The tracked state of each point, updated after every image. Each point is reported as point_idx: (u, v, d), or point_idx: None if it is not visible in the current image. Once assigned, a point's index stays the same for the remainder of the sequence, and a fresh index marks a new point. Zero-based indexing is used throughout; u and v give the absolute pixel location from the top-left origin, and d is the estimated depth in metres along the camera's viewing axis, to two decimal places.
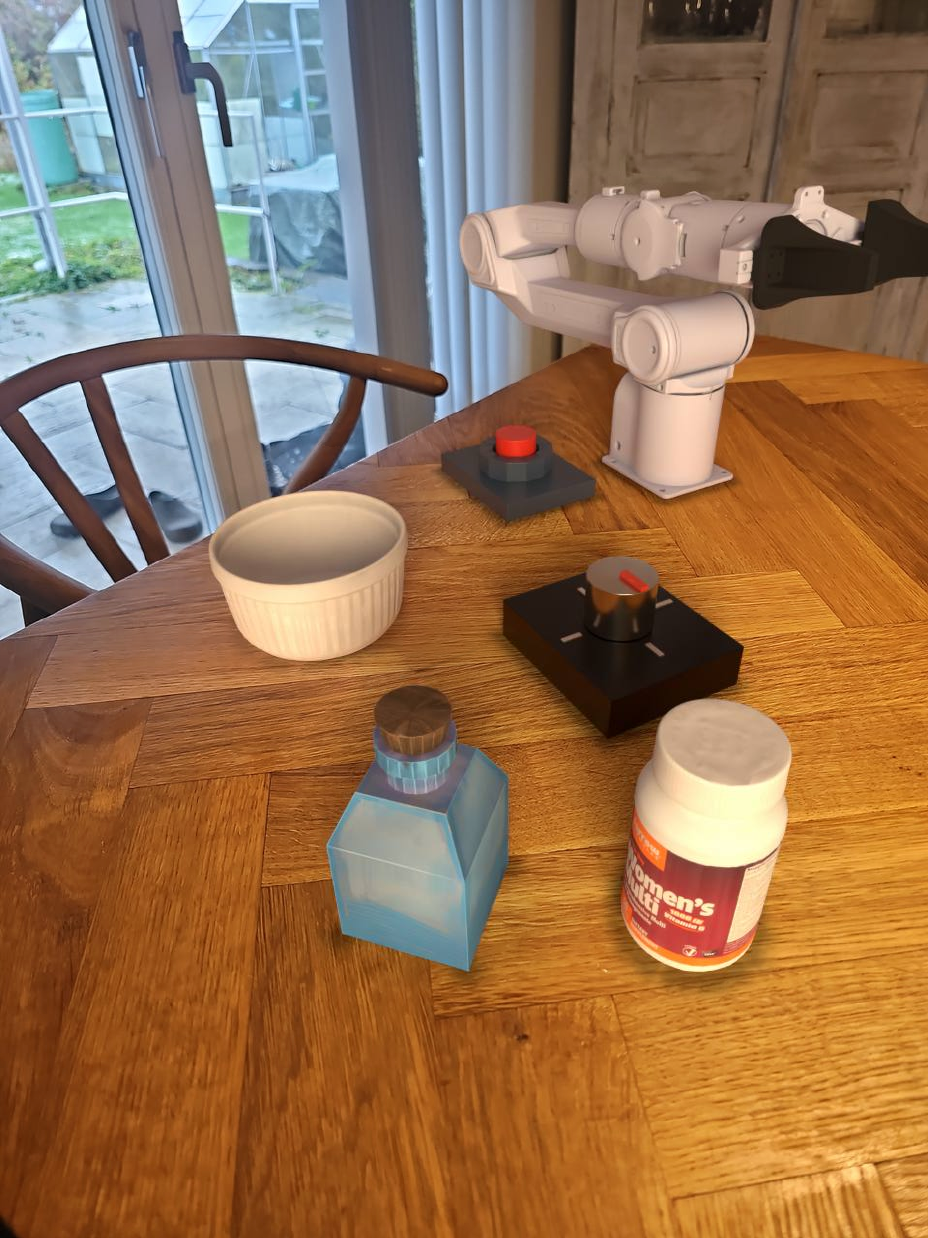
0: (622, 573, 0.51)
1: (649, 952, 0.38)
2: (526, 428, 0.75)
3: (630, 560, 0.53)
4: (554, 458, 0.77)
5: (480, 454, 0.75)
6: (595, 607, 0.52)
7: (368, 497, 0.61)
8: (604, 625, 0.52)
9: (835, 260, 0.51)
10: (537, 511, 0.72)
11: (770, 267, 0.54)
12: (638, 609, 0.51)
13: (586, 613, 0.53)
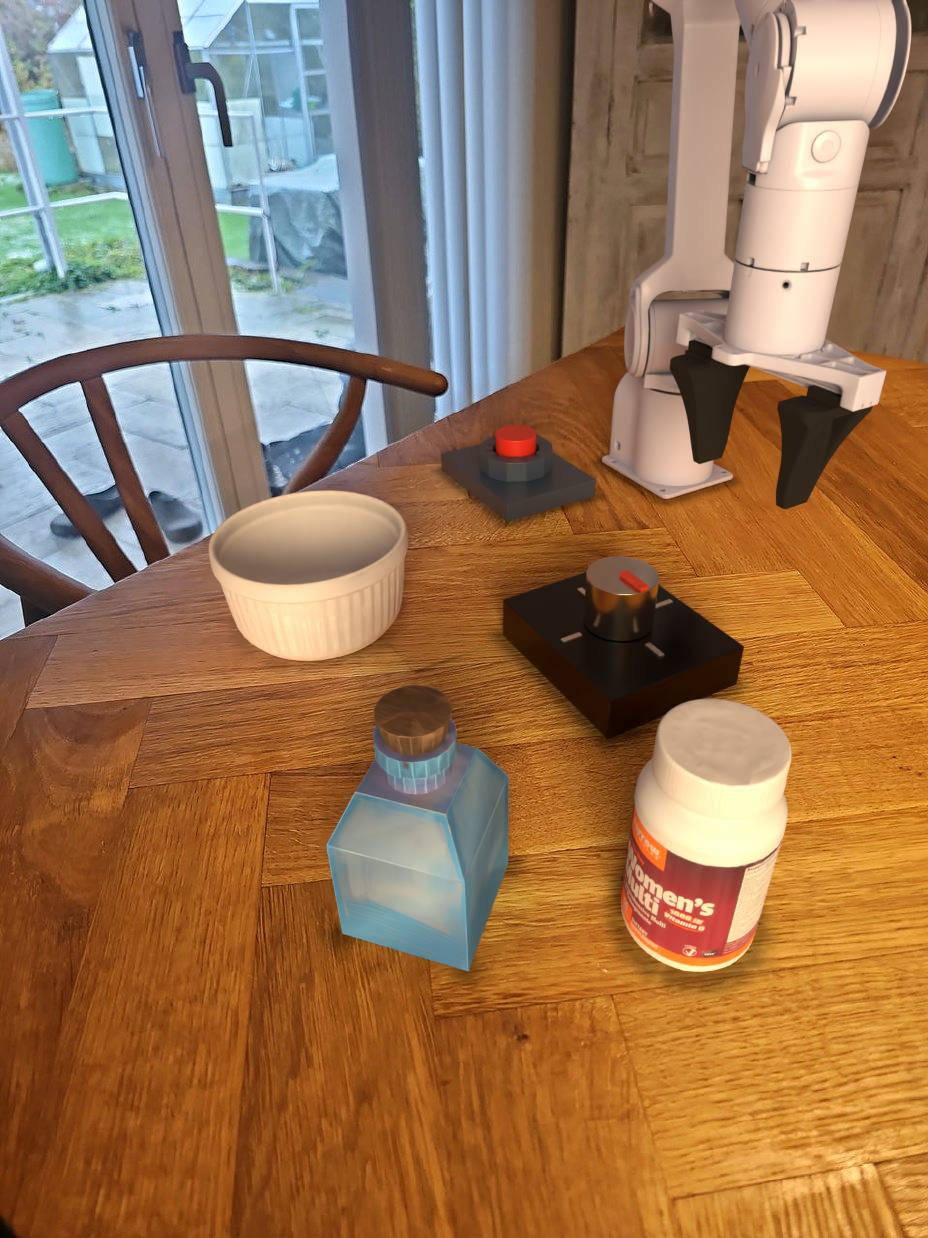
0: (622, 573, 0.51)
1: (649, 952, 0.38)
2: (526, 428, 0.75)
3: (630, 560, 0.53)
4: (554, 458, 0.77)
5: (480, 454, 0.75)
6: (595, 607, 0.52)
7: (368, 497, 0.61)
8: (604, 625, 0.52)
9: None
10: (537, 511, 0.72)
11: None
12: (638, 609, 0.51)
13: (586, 613, 0.53)
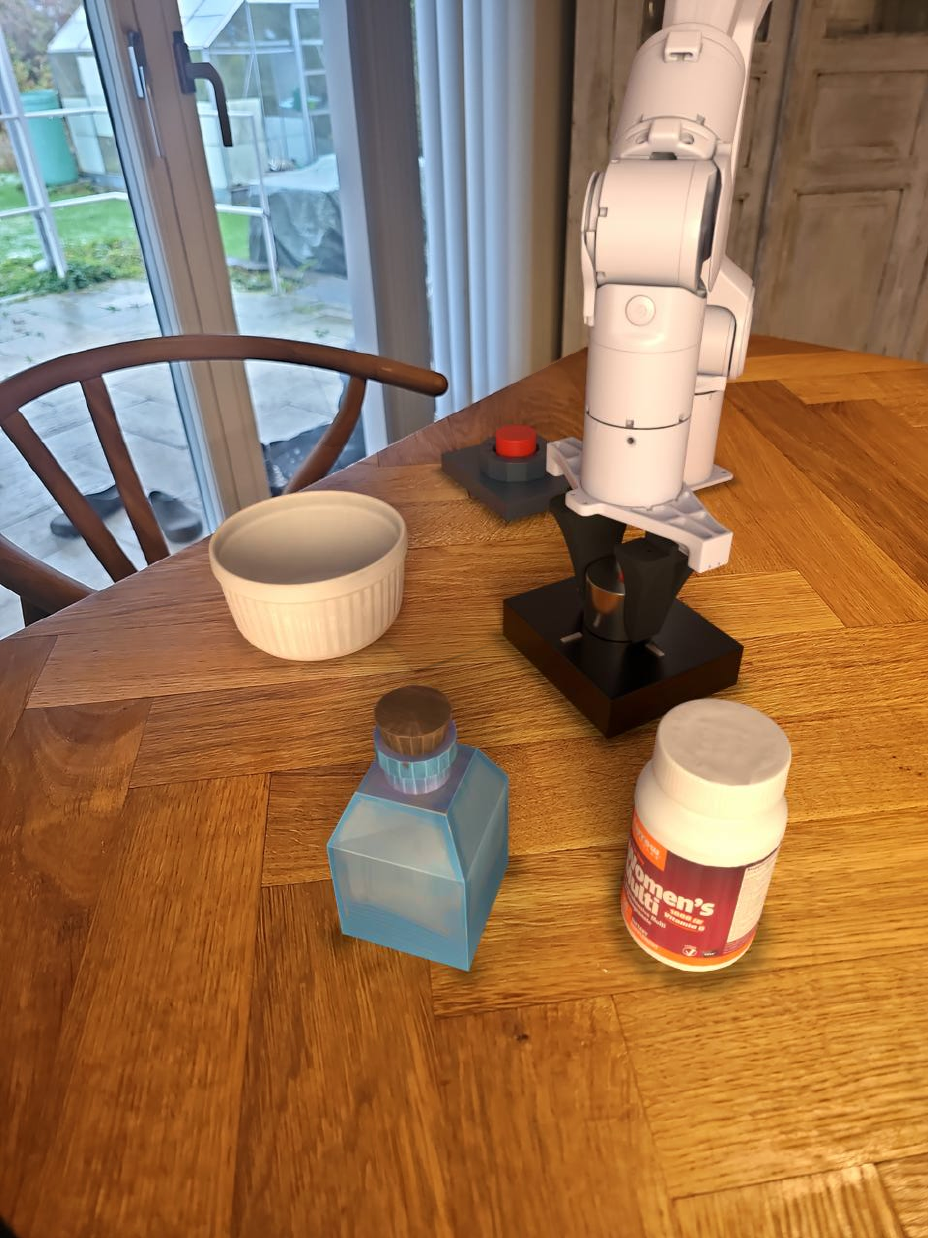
0: None
1: (649, 952, 0.38)
2: (526, 428, 0.75)
3: None
4: None
5: (480, 454, 0.75)
6: (595, 607, 0.52)
7: (368, 497, 0.61)
8: (604, 625, 0.52)
9: None
10: (537, 511, 0.72)
11: None
12: None
13: (586, 613, 0.53)
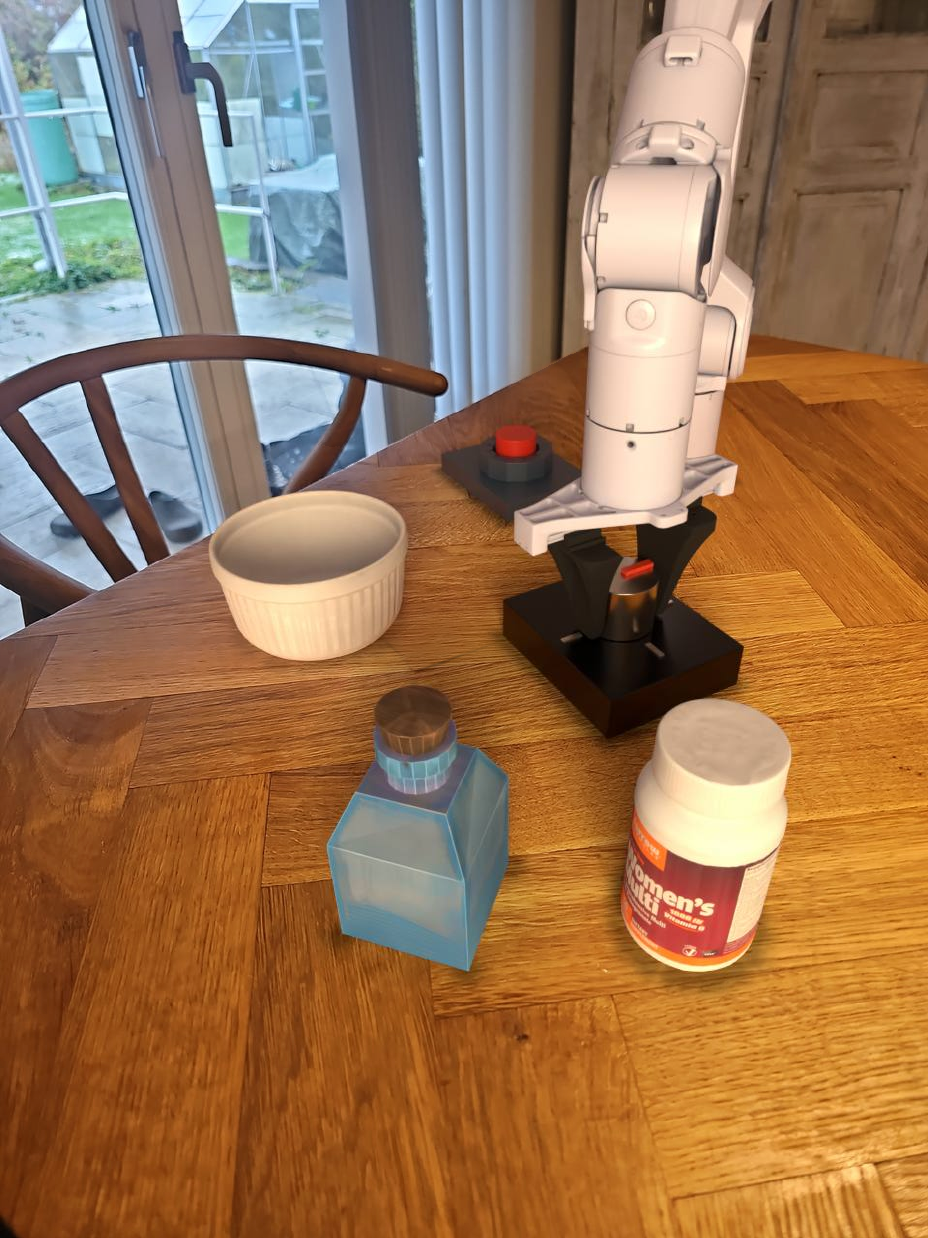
0: (628, 571, 0.52)
1: (649, 952, 0.38)
2: (526, 428, 0.75)
3: None
4: (554, 458, 0.77)
5: (480, 454, 0.75)
6: (647, 609, 0.51)
7: (368, 497, 0.61)
8: (651, 618, 0.52)
9: (587, 604, 0.51)
10: None
11: None
12: None
13: (633, 627, 0.52)
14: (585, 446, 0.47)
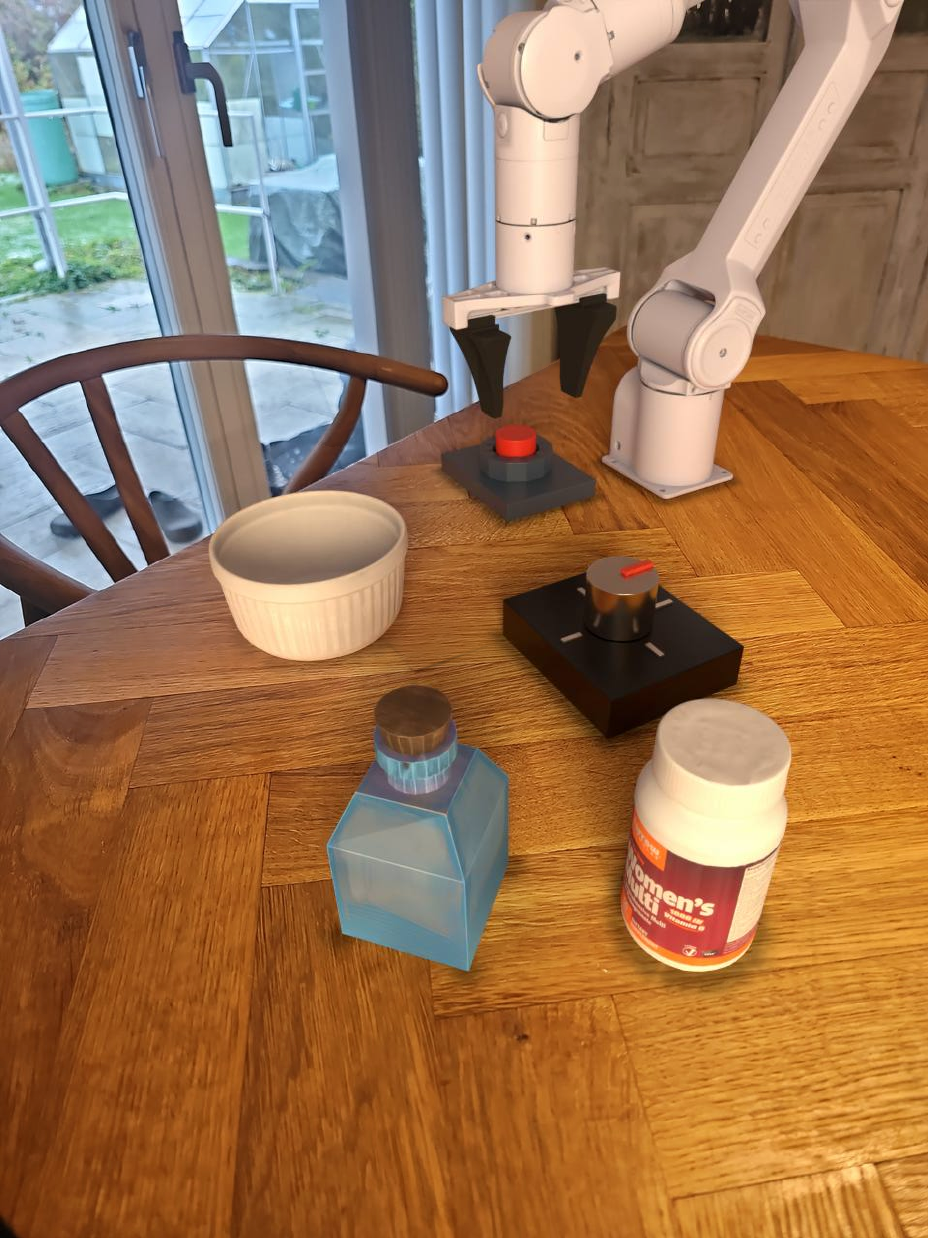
0: (628, 571, 0.52)
1: (649, 952, 0.38)
2: (526, 428, 0.75)
3: (593, 568, 0.53)
4: (554, 458, 0.77)
5: (480, 454, 0.75)
6: (648, 609, 0.51)
7: (368, 497, 0.61)
8: (652, 618, 0.52)
9: (488, 387, 0.64)
10: (537, 511, 0.72)
11: None
12: None
13: (633, 627, 0.52)
14: (496, 246, 0.61)
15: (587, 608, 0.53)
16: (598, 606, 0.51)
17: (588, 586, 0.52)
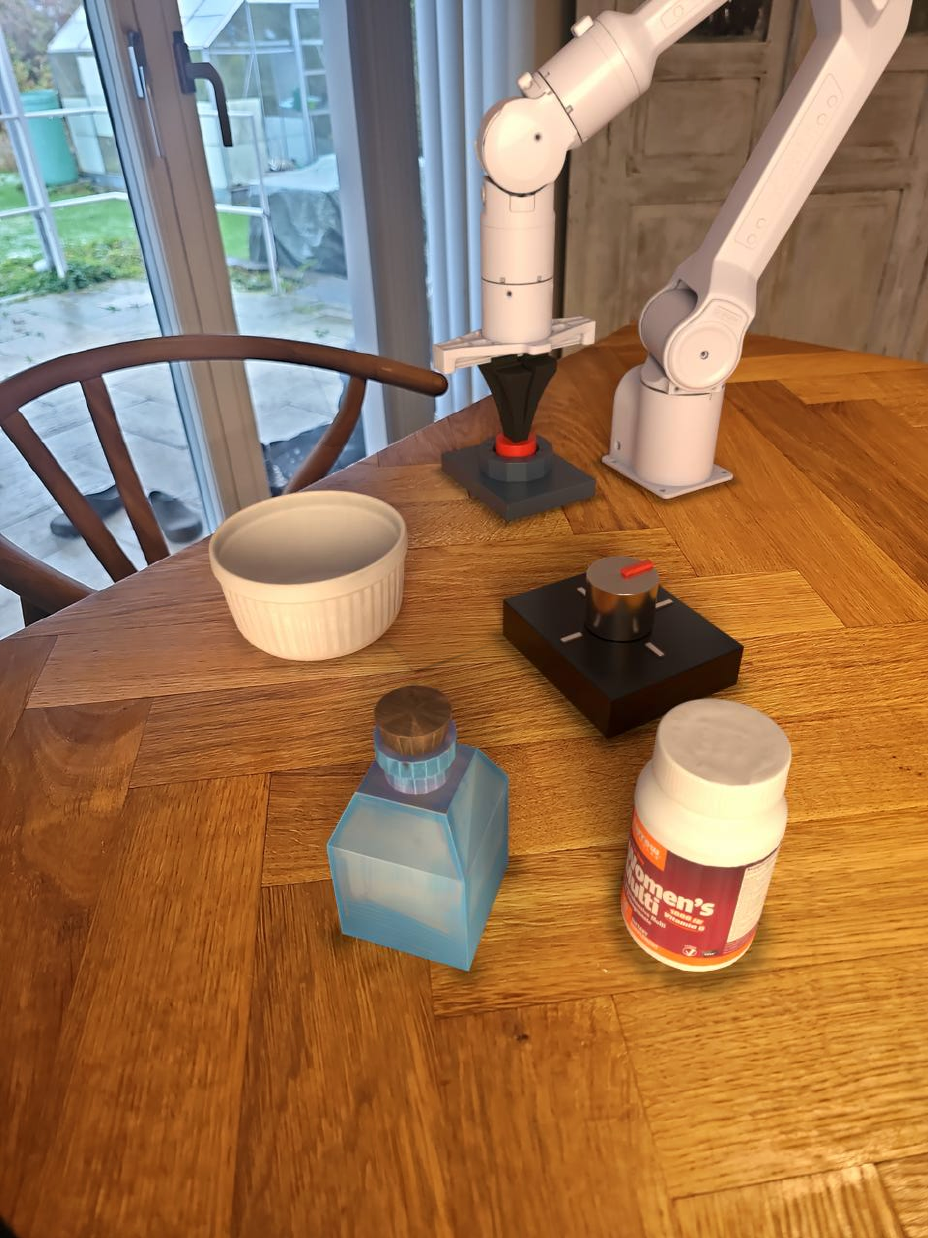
0: (628, 571, 0.52)
1: (649, 952, 0.38)
2: None
3: (593, 568, 0.53)
4: (554, 458, 0.77)
5: (480, 454, 0.75)
6: (648, 609, 0.51)
7: (368, 497, 0.61)
8: (652, 618, 0.52)
9: (510, 415, 0.73)
10: (537, 511, 0.72)
11: None
12: None
13: (633, 627, 0.52)
14: (482, 300, 0.67)
15: (587, 608, 0.53)
16: (598, 606, 0.51)
17: (588, 586, 0.52)
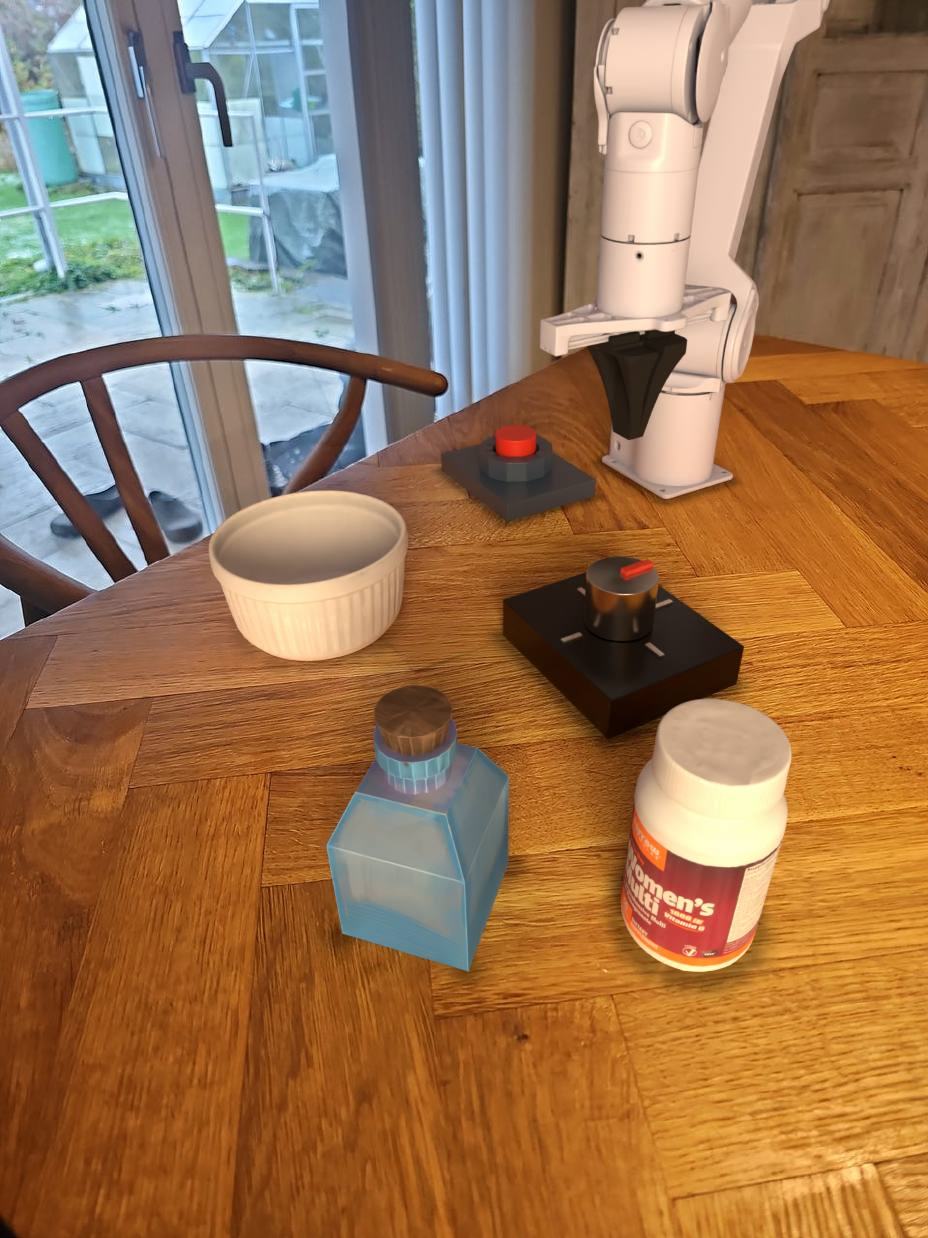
0: (628, 571, 0.52)
1: (649, 952, 0.38)
2: (526, 428, 0.75)
3: (593, 568, 0.53)
4: (554, 458, 0.77)
5: (480, 454, 0.75)
6: (648, 609, 0.51)
7: (368, 497, 0.61)
8: (652, 618, 0.52)
9: (625, 407, 0.60)
10: (537, 511, 0.72)
11: None
12: None
13: (633, 627, 0.52)
14: (600, 265, 0.55)
15: (587, 608, 0.53)
16: (598, 606, 0.51)
17: (588, 586, 0.52)
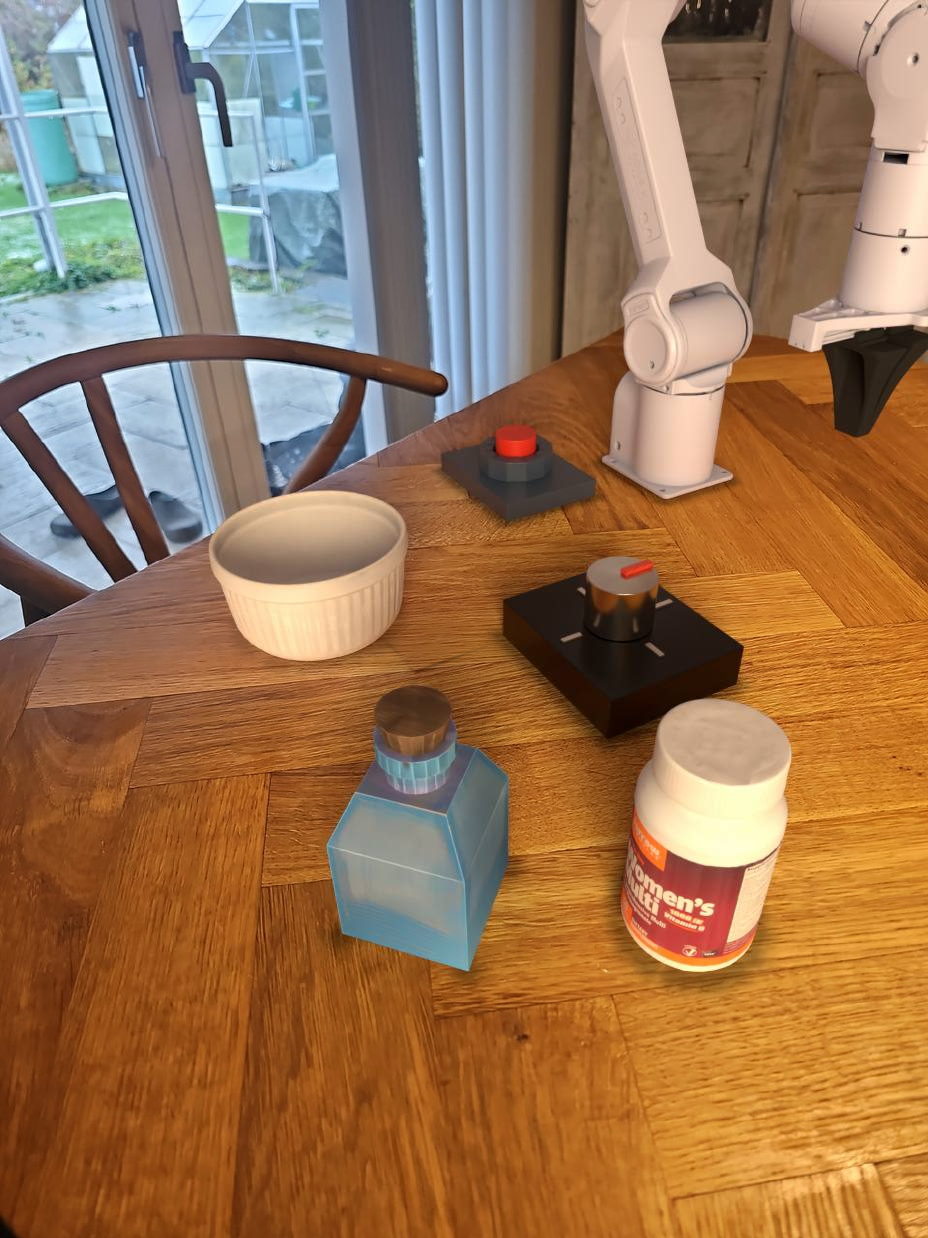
0: (628, 571, 0.52)
1: (649, 952, 0.38)
2: (526, 428, 0.75)
3: (593, 568, 0.53)
4: (554, 458, 0.77)
5: (480, 454, 0.75)
6: (648, 609, 0.51)
7: (368, 497, 0.61)
8: (652, 618, 0.52)
9: (857, 404, 0.59)
10: (537, 511, 0.72)
11: None
12: None
13: (633, 627, 0.52)
14: (853, 259, 0.54)
15: (587, 608, 0.53)
16: (598, 606, 0.51)
17: (588, 586, 0.52)
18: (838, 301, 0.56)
